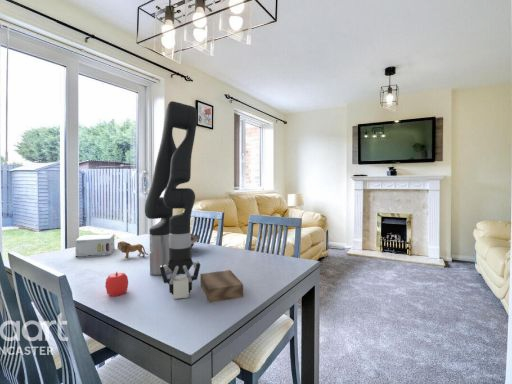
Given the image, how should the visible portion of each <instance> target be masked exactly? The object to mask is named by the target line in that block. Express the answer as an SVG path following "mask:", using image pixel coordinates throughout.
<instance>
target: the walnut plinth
mask: <svg viewBox="0 0 512 384" xmlns="http://www.w3.org/2000/svg"><path fill="white" fill-rule="evenodd" d="M199 277H200V283H199V284H200V287H201V290H202V292H203V293H205V294H204V295H206V296H205V297H207V298H206V300H207V301H208V303H209V304H211V303H217V302H222V301H228V300H234V299H239V298H244V284H243V282H241V280H240V279H239V278H238V277H237V276H236V274H234V272H232V270H231V269H227V270H221V271H214V272H213V271H212V272H206V273H200V275H199Z"/></svg>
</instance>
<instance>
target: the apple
mask: <svg viewBox="0 0 512 384" xmlns="http://www.w3.org/2000/svg"><path fill="white" fill-rule="evenodd" d="M128 286H129V279H128V276H127V274H126V273H124V272H118V271H116V272H115V273H112V274H109V275H108V276H107V277H106V279H105V286H104V287H105V290H106V294H107V295H109V296H112V295H113V297H116V295H117V296H121V295H123V294H125V293H126V292H127V291H128V288H129V287H128Z"/></svg>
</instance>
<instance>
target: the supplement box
mask: <svg viewBox="0 0 512 384" xmlns="http://www.w3.org/2000/svg"><path fill="white" fill-rule="evenodd" d="M74 242H75V244H74V247H75V249H74V250H75V257H76V256H86V257H89V256H88V255H98V256H104V255H103V254H110V255H112V253H113V252H114V251H115V248H116V247H115V234H114V233H111V234H110V233H108V234H93V235H91V234H89V235H81V236H79V237H78V238H76V239H75V241H74Z"/></svg>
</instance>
